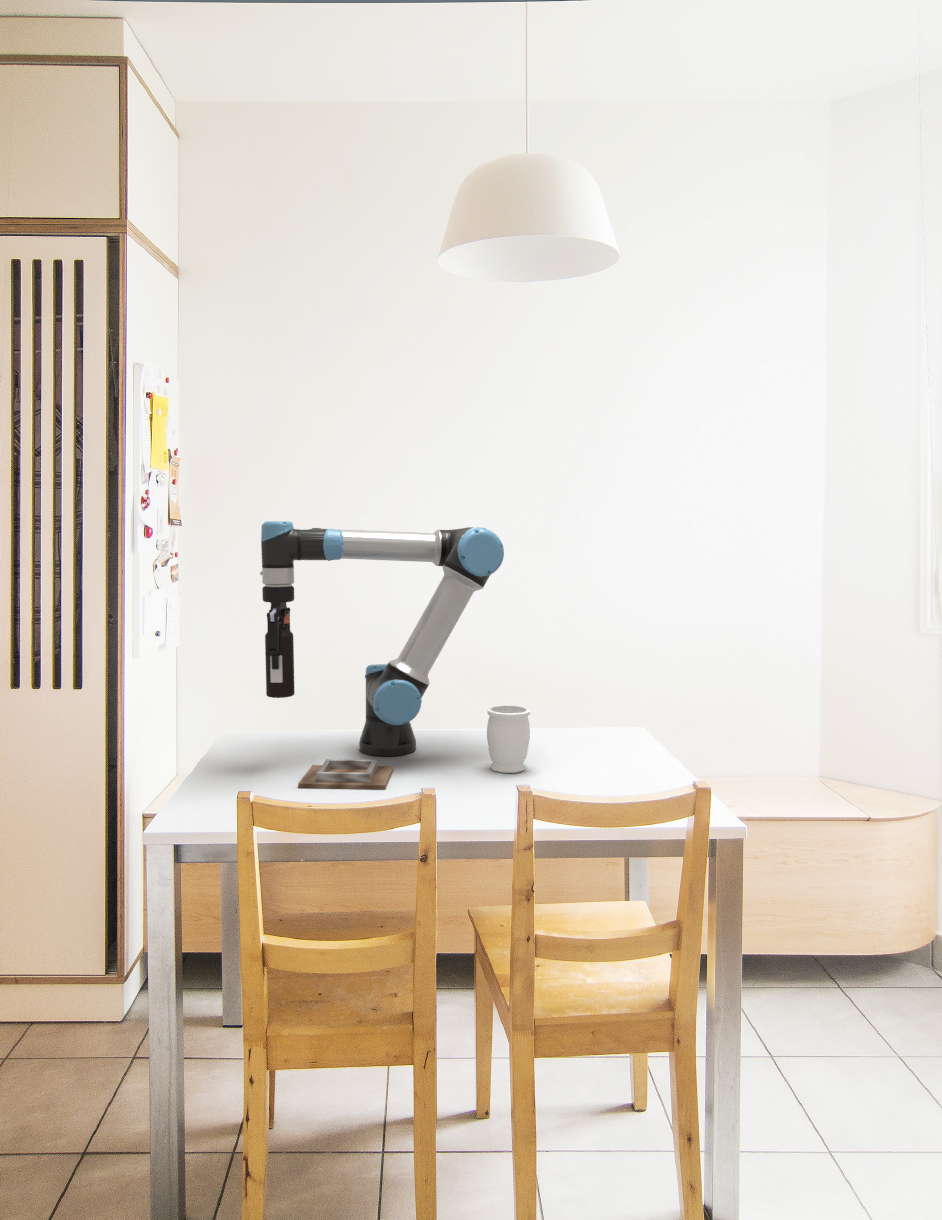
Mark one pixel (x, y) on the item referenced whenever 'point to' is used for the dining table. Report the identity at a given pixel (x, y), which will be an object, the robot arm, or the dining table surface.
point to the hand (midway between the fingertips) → (280, 679)
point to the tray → (347, 775)
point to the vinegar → (287, 665)
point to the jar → (508, 737)
